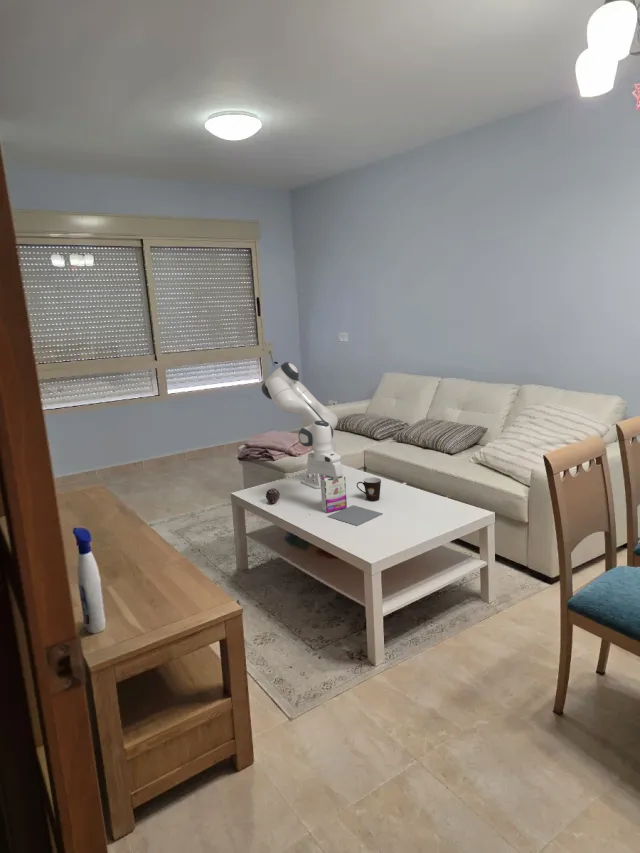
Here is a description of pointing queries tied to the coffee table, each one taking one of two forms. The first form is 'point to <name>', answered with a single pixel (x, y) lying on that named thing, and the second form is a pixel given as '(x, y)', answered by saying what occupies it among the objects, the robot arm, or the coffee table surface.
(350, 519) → the mat
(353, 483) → the coffee table surface
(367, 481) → the coffee mug
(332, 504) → the candy bar box
